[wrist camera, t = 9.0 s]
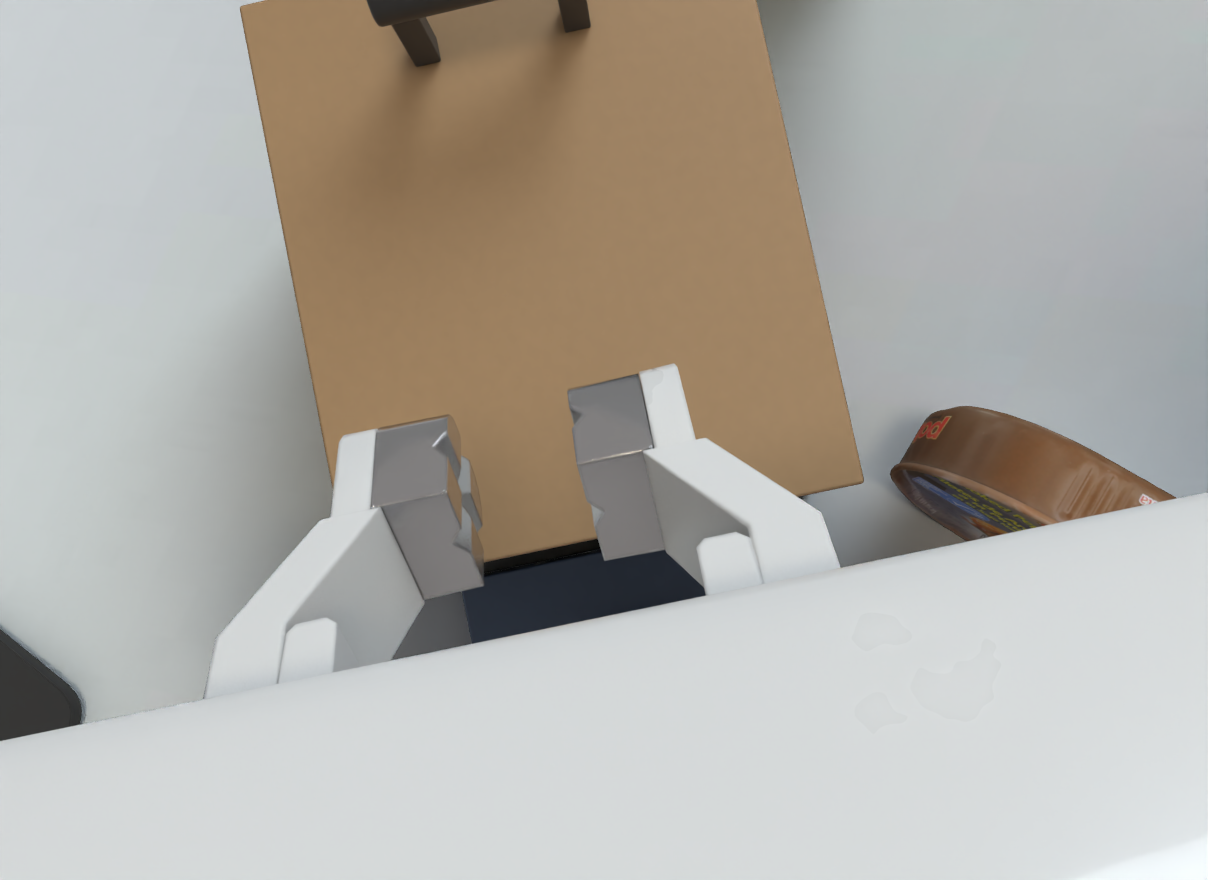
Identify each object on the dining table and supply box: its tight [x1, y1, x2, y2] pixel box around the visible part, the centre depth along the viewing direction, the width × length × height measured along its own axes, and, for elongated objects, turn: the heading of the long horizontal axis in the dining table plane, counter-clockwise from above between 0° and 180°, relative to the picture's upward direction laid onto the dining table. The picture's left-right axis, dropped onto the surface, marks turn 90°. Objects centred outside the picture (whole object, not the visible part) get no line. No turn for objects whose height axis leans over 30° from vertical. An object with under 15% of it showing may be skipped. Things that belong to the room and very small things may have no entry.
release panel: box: [461, 549, 706, 644], centre depth 37 cm, size 9×11×4 cm
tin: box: [890, 406, 1176, 541], centre depth 34 cm, size 15×3×8 cm, turn 59°
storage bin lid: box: [240, 0, 864, 562], centre depth 27 cm, size 16×13×5 cm
